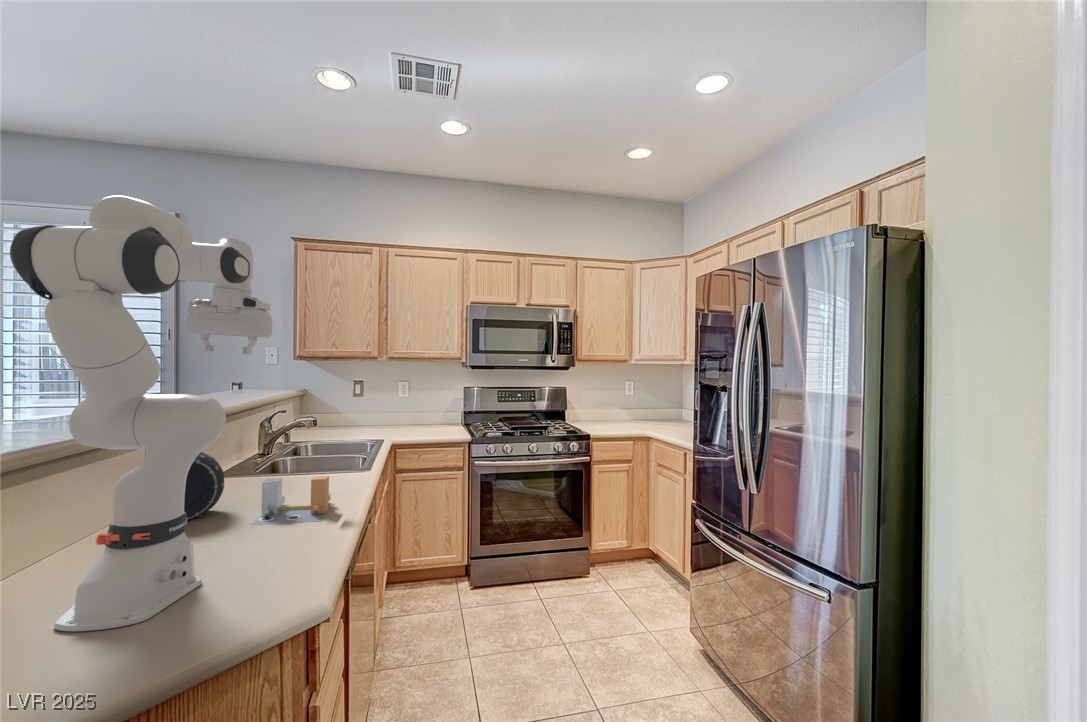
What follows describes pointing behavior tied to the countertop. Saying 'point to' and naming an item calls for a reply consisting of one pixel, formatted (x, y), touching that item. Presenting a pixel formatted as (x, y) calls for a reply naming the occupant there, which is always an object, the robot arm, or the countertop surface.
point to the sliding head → (319, 494)
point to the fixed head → (272, 497)
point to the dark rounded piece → (203, 486)
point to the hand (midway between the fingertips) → (227, 352)
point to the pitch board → (294, 515)
